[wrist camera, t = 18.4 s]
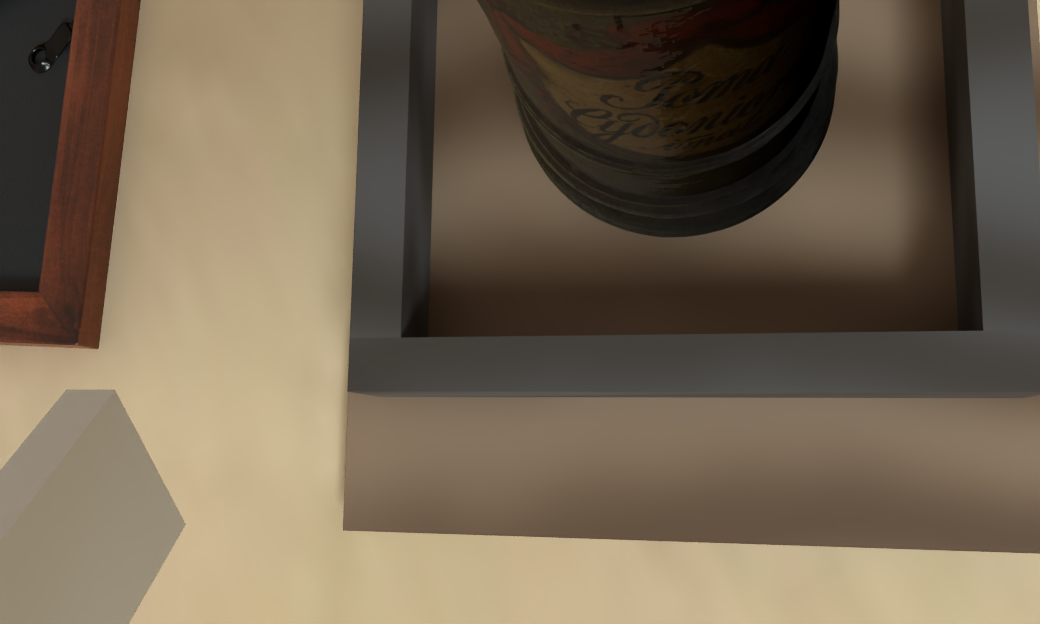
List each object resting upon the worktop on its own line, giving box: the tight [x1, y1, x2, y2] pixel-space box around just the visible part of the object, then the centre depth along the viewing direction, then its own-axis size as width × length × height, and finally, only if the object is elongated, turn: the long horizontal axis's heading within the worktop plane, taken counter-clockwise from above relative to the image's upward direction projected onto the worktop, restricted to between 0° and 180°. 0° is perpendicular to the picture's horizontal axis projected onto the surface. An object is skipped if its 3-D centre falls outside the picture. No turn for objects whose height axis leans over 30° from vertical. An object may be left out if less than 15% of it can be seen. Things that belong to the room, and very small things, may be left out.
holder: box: [343, 0, 1040, 553], centre depth 28 cm, size 26×20×4 cm
